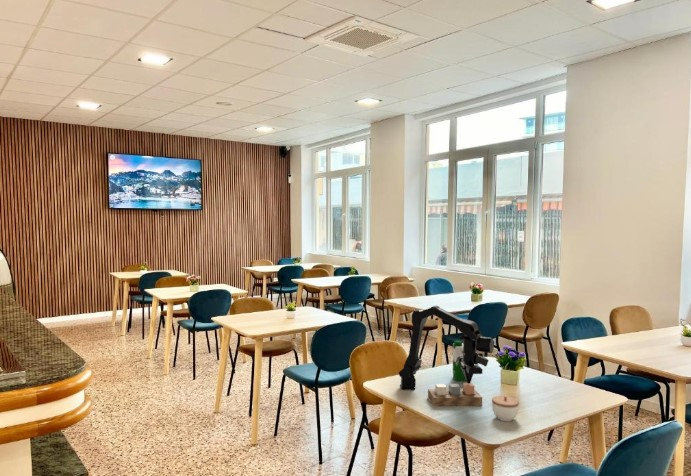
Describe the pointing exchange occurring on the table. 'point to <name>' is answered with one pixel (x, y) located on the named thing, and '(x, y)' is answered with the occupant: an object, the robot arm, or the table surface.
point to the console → (454, 399)
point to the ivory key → (440, 389)
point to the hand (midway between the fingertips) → (468, 383)
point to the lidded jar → (505, 407)
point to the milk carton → (457, 369)
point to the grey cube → (454, 389)
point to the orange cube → (468, 388)
